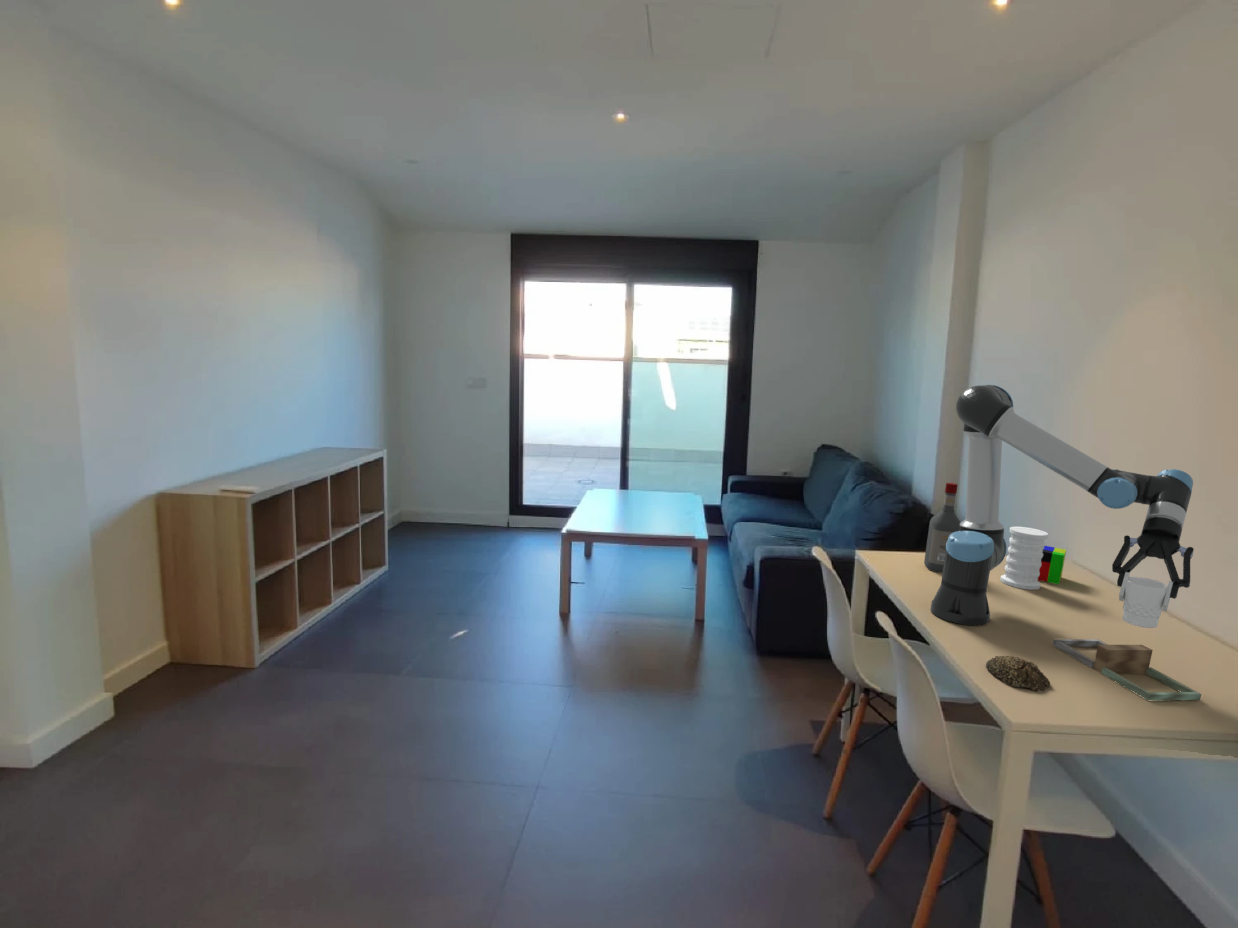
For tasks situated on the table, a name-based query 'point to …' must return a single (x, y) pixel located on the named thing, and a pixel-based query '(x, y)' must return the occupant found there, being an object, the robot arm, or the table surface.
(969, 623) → the robot arm
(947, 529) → the liquor
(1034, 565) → the decorative container
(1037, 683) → the bread roll
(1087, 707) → the table surface
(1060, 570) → the puzzle toy
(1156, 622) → the white cup
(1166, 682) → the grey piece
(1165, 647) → the table surface
